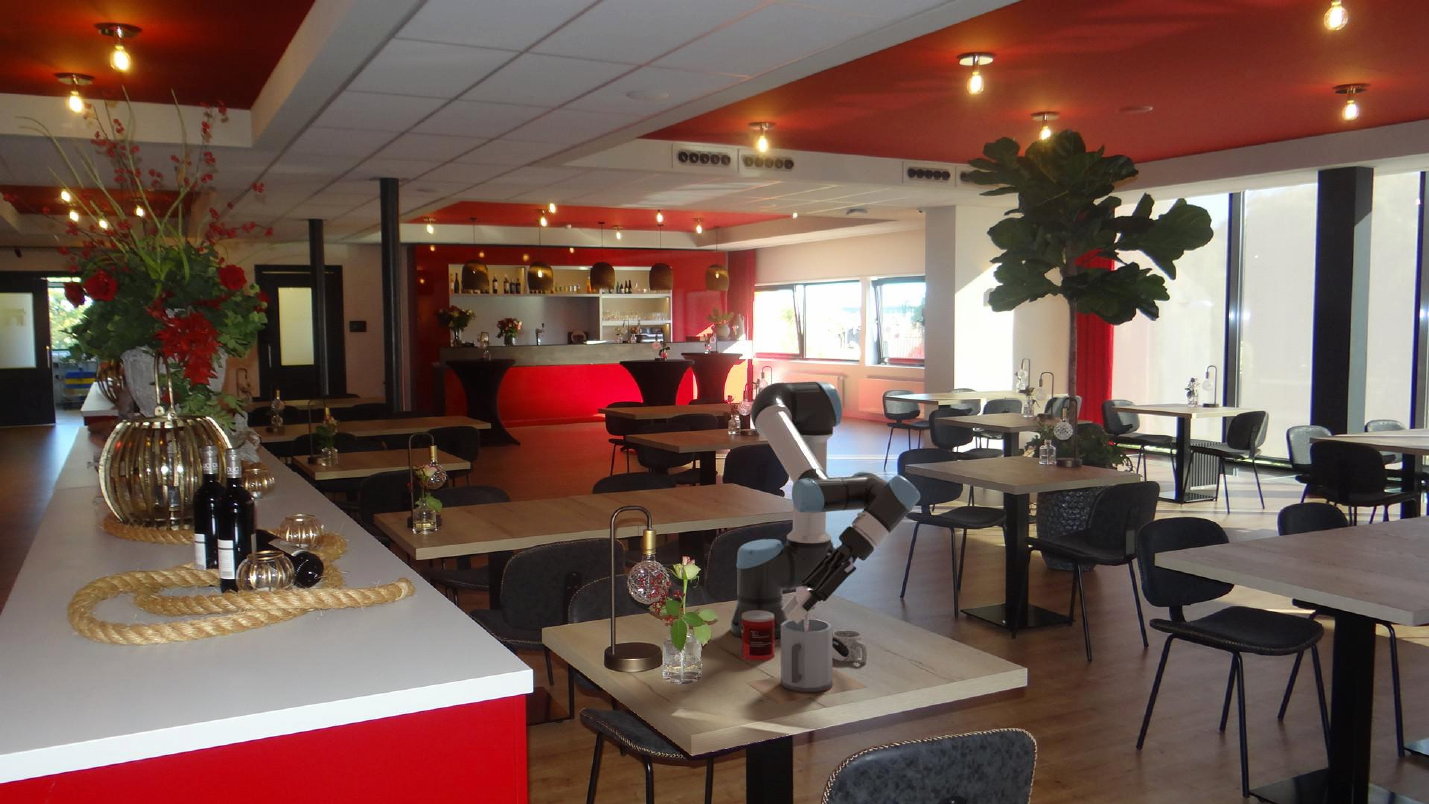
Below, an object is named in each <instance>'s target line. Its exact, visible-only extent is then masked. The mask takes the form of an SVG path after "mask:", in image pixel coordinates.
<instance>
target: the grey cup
mask: <svg viewBox="0 0 1429 804" xmlns="http://www.w3.org/2000/svg"><path fill="white" fill-rule="evenodd" d="M832 633H833V625H832V623H830V622H829V621H825V620H822V619H817V618H810V617H809V632H804V618H803V619H802V620H801V621H800V622H799V623H798V624H797V623H796V622H795V621H794V620H792V619H788V620H787V621H785V622H783V623H782V624H781V637H780V677H781V687H782V688H784V689H785V690H788V691H791V692H795V693H802V694H814V693H821V692H825V691H828V690H830V689H831V688H832V686H833V679H832V668H833V657H832Z"/></svg>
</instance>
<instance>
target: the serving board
mask: <svg viewBox="0 0 1429 804" xmlns="http://www.w3.org/2000/svg"><path fill="white" fill-rule="evenodd" d="M832 679H833V686H832V688H831V689H830V690H828V691H825V692H821V693H814V694H802V693H795V692H791V691H788V690H785V689H784V688H782V687H781V676H778V677H772V678H766V679H761V680H755V681H748V682H746V684H748V685H749V686H750V687H752V688H754V689H755V690H757V691H758V692H760V693H761V694H763V695H764V696H766V697H767V698H769V699H770V700H772V702H774V703H776V704H783V703H789V702H793V701H799V700H804V699H809V698H810V699H811V698H815V697H820V696H825V695H826V696H828V695H830V694H831V695H832V694H837V693H843V692H847V691H853V690H859V689H864V688H868V686H867V685H865V684H864V683H862V682H860V681H858V680H856V679H855V678H852V676H851V677H850V676H849V675H847V674H845V673H843V672H841V671H839V670H838V669H836V668H834V667H832Z"/></svg>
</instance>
